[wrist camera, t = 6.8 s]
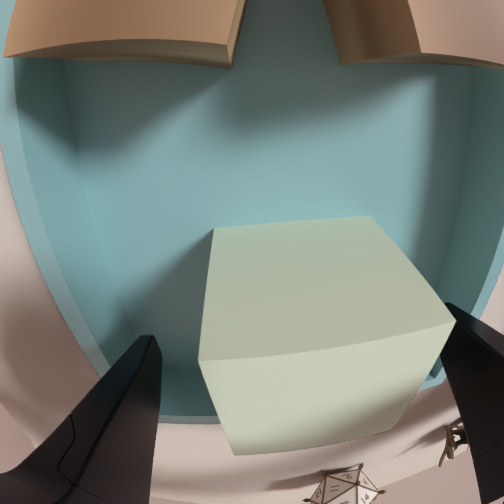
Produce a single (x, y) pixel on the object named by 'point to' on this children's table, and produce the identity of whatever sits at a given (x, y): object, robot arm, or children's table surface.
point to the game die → (345, 489)
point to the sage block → (314, 332)
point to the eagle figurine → (453, 442)
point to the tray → (242, 176)
